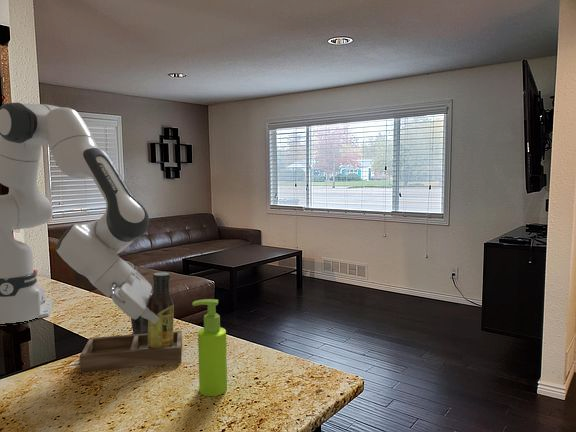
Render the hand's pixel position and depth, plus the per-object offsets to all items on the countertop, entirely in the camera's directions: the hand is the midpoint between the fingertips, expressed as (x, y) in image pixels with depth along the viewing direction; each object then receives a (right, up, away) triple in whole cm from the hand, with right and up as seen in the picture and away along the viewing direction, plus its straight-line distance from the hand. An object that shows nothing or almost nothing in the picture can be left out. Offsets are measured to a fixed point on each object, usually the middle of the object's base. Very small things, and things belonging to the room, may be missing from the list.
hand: (158, 314), depth 112 cm
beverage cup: (-9, -9, +15) cm, 20 cm away
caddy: (-6, -11, 0) cm, 13 cm away
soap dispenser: (+16, -13, -16) cm, 26 cm away
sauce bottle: (0, -10, +1) cm, 10 cm away
